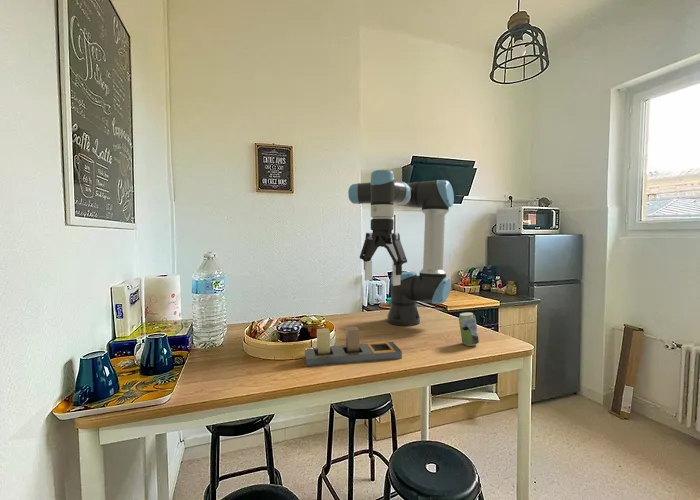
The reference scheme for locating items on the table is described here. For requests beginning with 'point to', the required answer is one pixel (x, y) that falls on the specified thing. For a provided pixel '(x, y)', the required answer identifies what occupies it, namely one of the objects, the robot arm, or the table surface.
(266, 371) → the table surface
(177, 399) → the table surface
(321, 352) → the pale yellow block
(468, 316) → the beverage can
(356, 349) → the brown rectangular block
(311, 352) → the grey peg insertion board
